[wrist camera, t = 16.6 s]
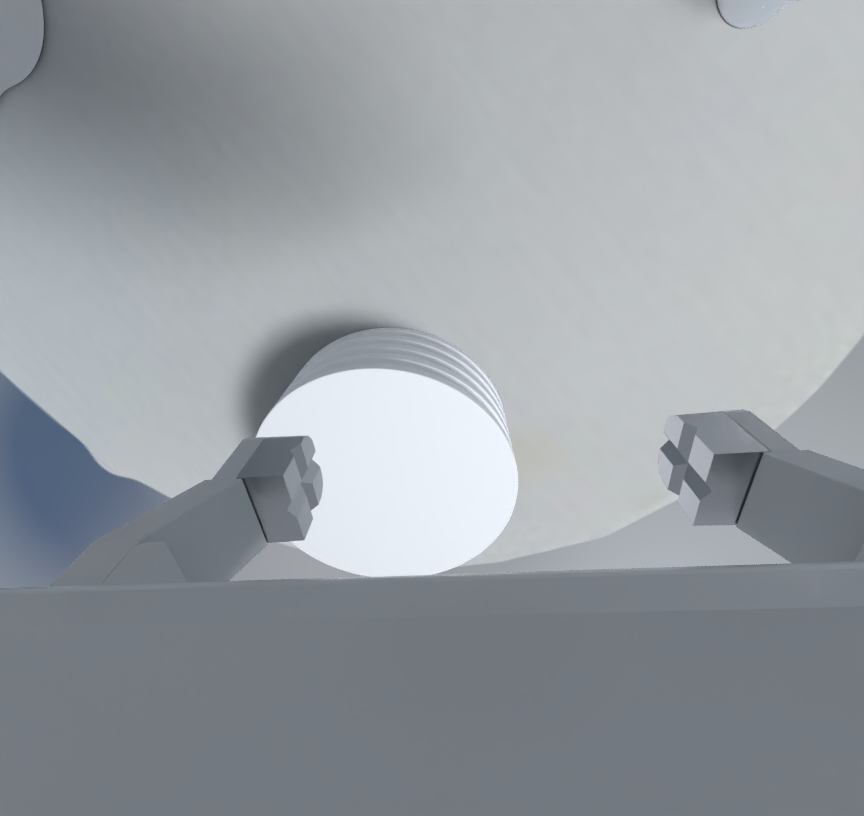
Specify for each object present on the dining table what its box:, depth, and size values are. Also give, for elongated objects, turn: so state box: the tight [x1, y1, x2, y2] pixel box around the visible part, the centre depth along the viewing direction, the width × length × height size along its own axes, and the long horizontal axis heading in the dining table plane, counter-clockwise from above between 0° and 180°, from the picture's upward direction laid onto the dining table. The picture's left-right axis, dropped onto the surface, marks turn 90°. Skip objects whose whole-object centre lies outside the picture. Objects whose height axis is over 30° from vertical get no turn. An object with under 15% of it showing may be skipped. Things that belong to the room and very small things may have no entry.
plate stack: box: [255, 328, 518, 577], centre depth 49 cm, size 28×28×12 cm
